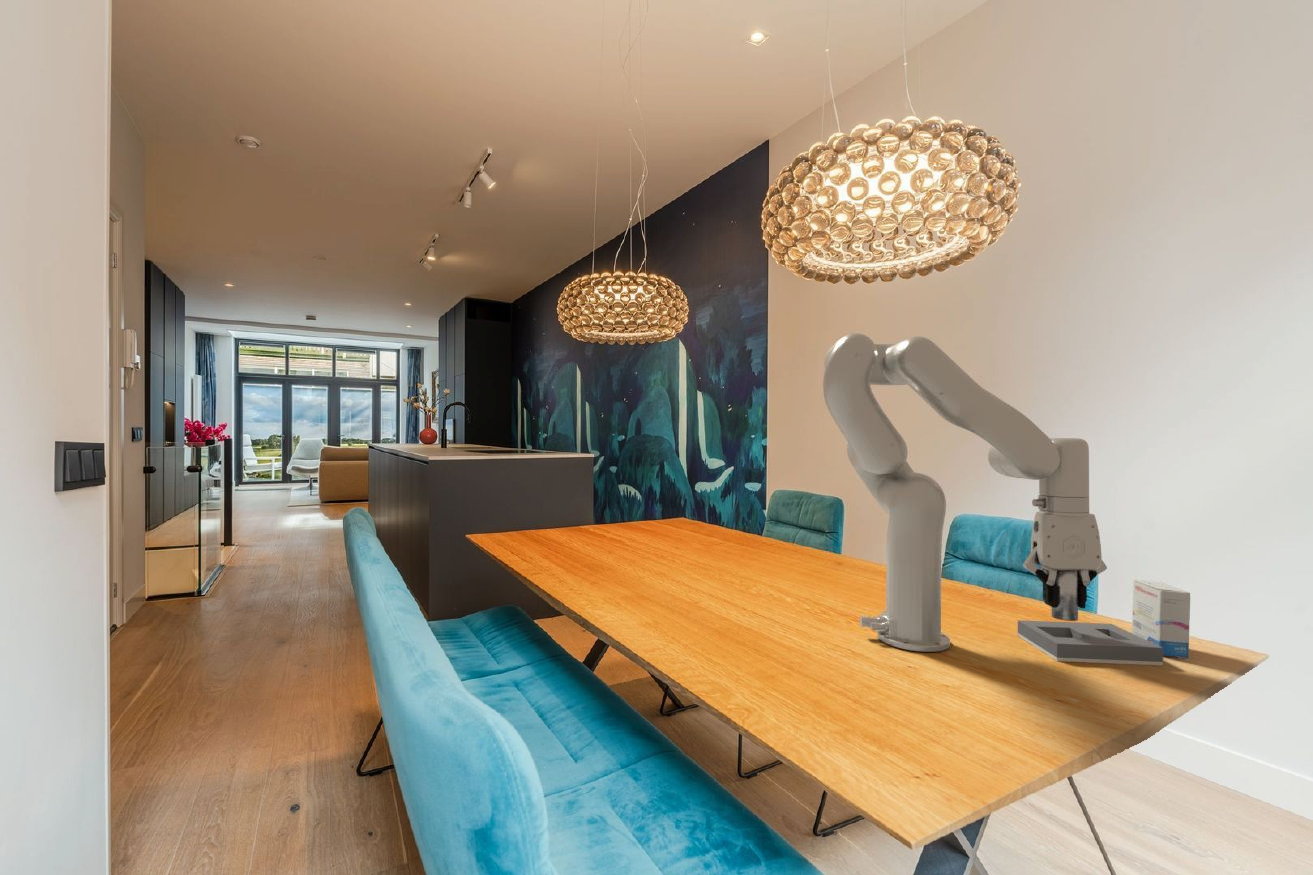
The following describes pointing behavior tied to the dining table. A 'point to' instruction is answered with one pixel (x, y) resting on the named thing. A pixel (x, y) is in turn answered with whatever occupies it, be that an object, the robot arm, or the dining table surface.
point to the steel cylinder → (1066, 595)
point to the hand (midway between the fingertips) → (1064, 604)
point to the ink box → (1162, 616)
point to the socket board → (1089, 643)
